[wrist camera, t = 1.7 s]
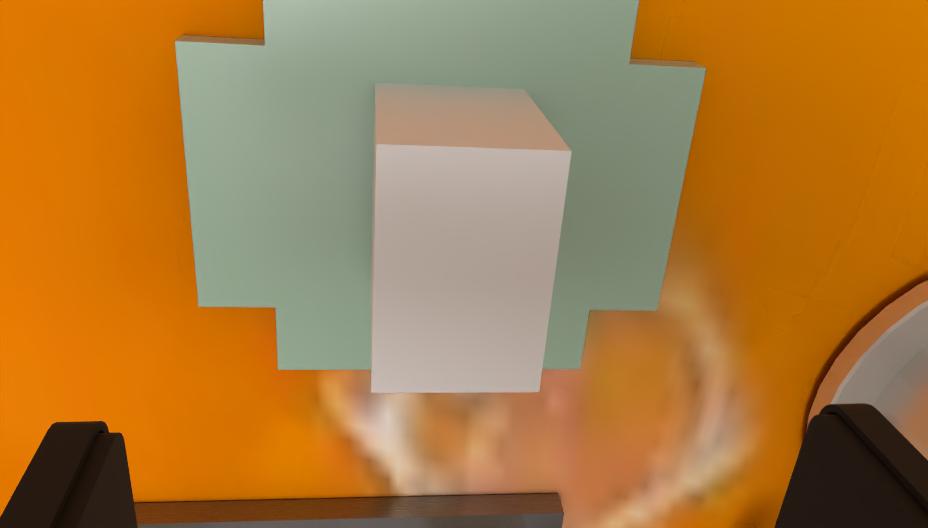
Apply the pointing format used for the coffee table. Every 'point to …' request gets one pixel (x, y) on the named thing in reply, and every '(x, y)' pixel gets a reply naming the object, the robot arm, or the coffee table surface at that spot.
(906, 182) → the coffee table surface
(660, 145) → the circuit board
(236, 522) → the chassis
